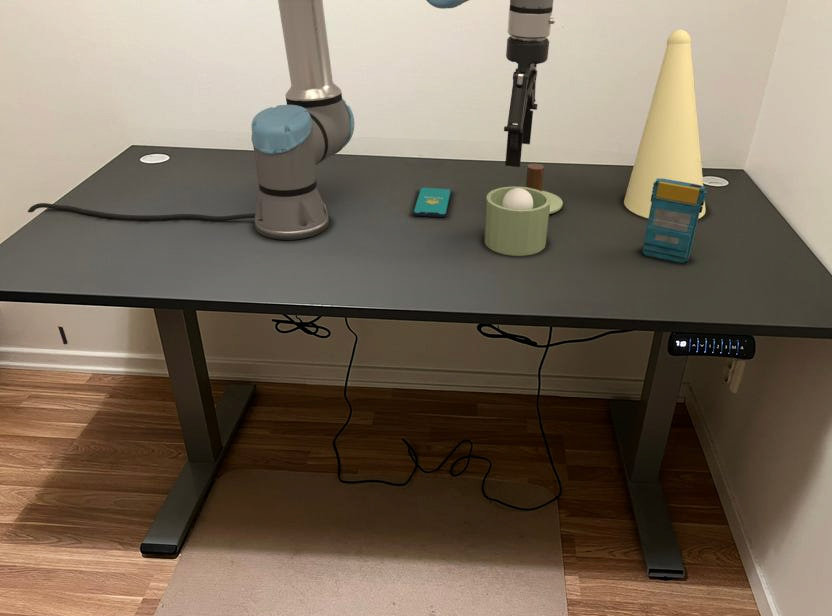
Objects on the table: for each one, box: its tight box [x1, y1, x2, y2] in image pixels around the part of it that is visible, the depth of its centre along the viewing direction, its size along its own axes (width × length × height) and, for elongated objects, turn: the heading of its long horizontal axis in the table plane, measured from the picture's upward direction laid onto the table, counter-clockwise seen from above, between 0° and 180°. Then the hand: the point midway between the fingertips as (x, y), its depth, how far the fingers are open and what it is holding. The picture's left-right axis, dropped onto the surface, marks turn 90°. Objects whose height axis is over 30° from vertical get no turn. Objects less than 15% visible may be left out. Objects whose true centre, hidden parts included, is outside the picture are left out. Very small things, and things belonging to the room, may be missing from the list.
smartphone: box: [412, 187, 452, 218], centre depth 164 cm, size 7×1×15 cm
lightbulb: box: [502, 188, 533, 210], centre depth 145 cm, size 6×6×11 cm
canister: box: [483, 186, 551, 257], centre depth 146 cm, size 13×13×10 cm
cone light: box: [623, 29, 707, 220], centre depth 158 cm, size 25×18×35 cm
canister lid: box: [525, 163, 564, 215], centre depth 162 cm, size 14×14×9 cm
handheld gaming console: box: [641, 178, 707, 264], centre depth 140 cm, size 10×4×15 cm, turn 64°
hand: (518, 154), depth 141 cm, fingers open, 13 cm apart
